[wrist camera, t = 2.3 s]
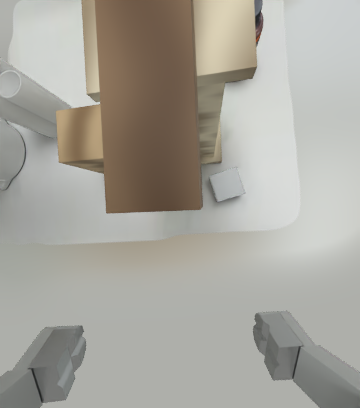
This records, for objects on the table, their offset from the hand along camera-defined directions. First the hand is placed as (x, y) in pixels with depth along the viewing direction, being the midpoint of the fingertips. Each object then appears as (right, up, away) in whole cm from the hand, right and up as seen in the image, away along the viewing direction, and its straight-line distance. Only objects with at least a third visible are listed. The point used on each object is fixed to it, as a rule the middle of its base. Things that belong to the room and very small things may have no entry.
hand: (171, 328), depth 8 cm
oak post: (-10, +16, +31) cm, 36 cm away
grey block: (+10, +9, +28) cm, 31 cm away
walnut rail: (-1, +16, +3) cm, 16 cm away
